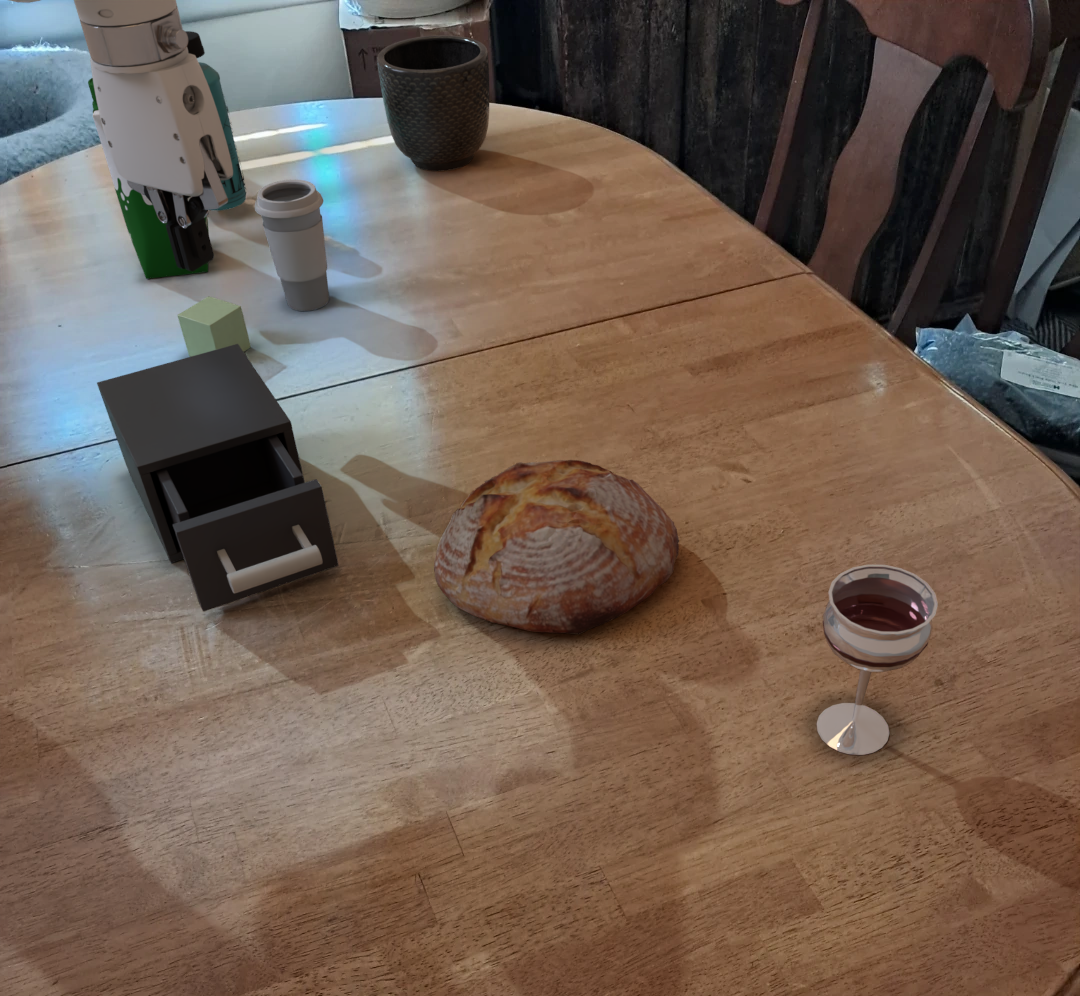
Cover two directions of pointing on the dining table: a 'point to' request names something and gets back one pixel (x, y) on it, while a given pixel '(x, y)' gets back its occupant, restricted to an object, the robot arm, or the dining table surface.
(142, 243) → the milk carton
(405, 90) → the planter
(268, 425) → the cabinet
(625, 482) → the bread
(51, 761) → the dining table surface
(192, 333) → the block
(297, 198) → the cup
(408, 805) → the dining table surface
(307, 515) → the mini filing drawer
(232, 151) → the beverage bottle
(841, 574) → the wineglass
